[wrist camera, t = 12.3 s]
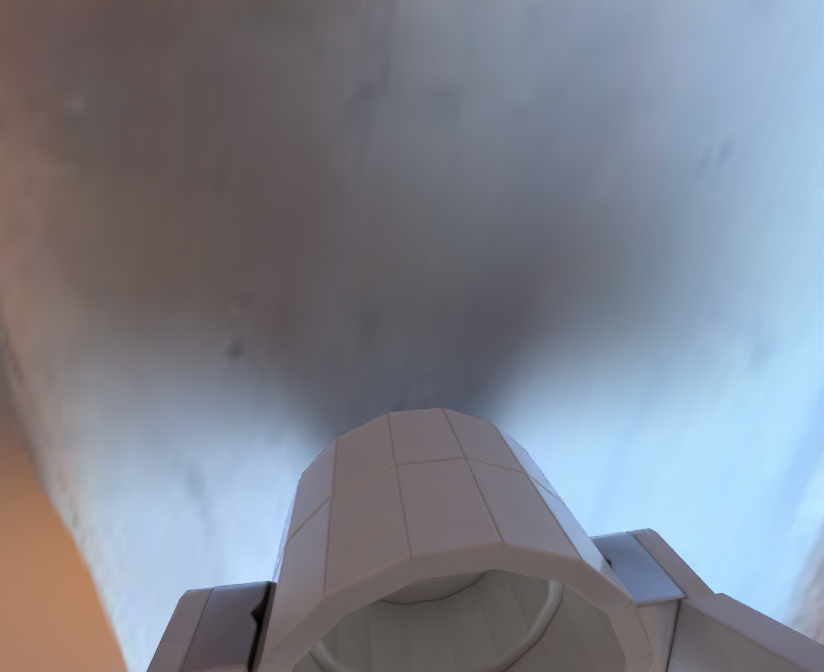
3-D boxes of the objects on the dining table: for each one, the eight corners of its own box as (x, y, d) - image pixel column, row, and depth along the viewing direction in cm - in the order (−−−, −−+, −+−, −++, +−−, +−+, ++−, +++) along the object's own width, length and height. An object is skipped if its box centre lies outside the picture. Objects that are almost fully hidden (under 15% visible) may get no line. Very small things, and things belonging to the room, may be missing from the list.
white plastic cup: (305, 621, 11) (274, 882, 7) (275, 411, 9) (206, 581, 5) (528, 589, 12) (629, 806, 7) (539, 387, 10) (678, 519, 6)
